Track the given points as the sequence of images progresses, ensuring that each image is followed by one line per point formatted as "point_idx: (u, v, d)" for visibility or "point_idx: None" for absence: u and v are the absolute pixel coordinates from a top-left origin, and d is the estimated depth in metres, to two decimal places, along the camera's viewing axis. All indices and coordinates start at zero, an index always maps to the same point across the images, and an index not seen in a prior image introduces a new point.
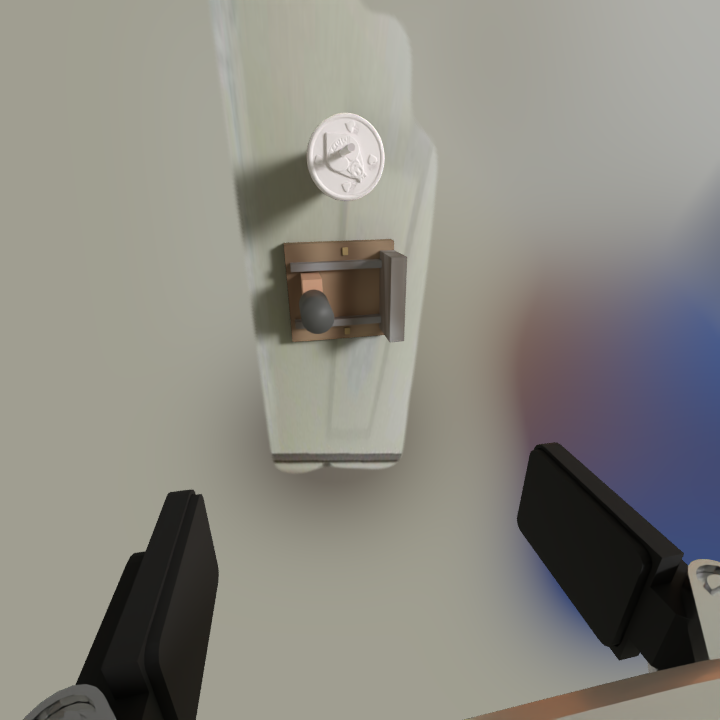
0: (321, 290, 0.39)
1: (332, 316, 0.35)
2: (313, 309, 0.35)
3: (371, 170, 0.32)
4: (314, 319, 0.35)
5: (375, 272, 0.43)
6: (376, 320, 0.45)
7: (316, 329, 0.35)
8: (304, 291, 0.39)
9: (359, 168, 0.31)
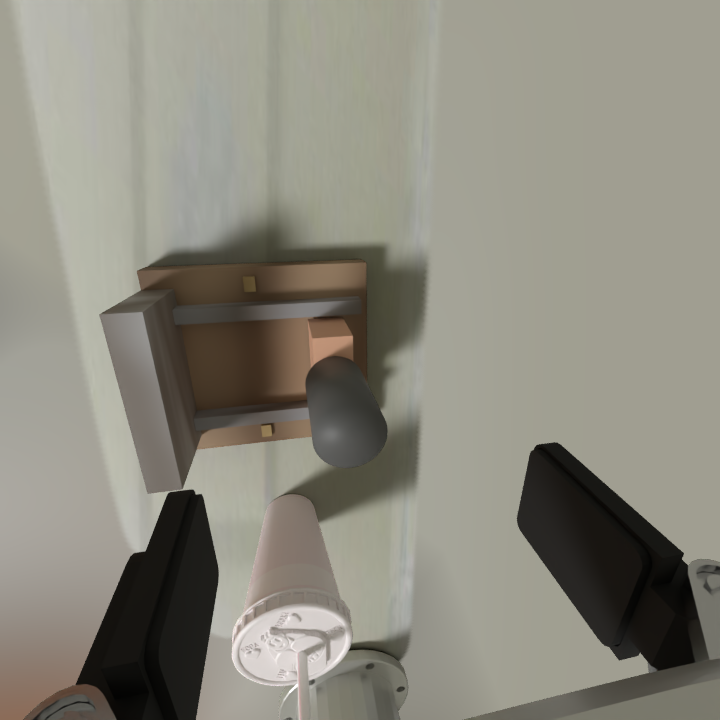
0: None
1: (316, 442, 0.15)
2: (359, 453, 0.15)
3: (252, 643, 0.19)
4: (358, 433, 0.15)
5: (203, 399, 0.23)
6: (184, 315, 0.20)
7: (355, 412, 0.15)
8: None
9: (273, 645, 0.19)
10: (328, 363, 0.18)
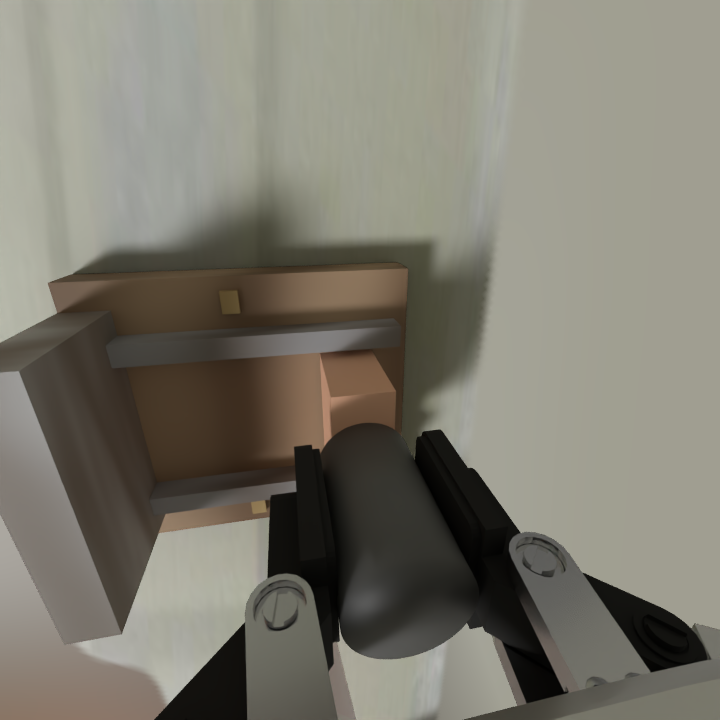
0: None
1: (348, 628, 0.08)
2: (425, 636, 0.08)
3: None
4: (426, 607, 0.08)
5: (165, 467, 0.16)
6: (126, 354, 0.13)
7: (423, 576, 0.08)
8: None
9: None
10: (357, 440, 0.11)
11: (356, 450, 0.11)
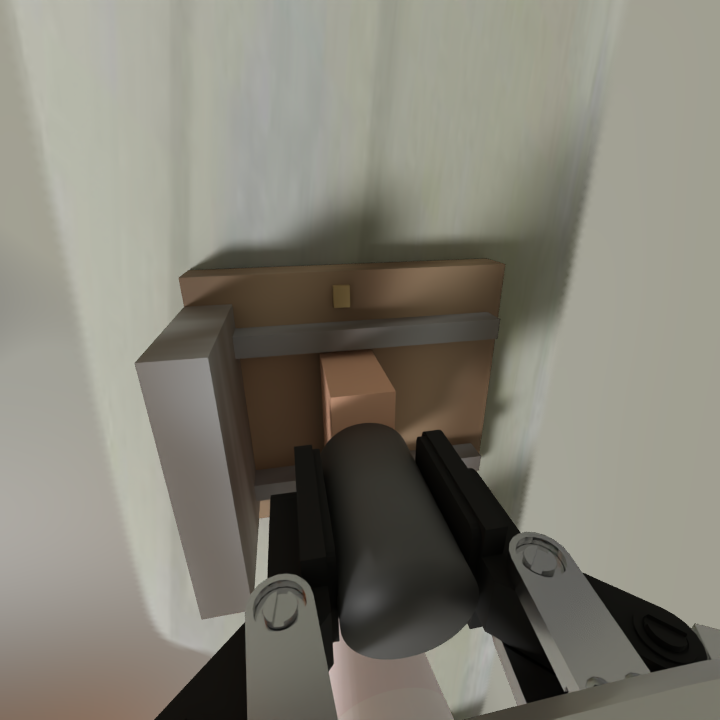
0: None
1: (348, 628, 0.08)
2: (425, 636, 0.08)
3: None
4: (426, 607, 0.08)
5: (265, 455, 0.16)
6: (250, 345, 0.13)
7: (423, 576, 0.08)
8: None
9: None
10: (357, 440, 0.11)
11: (356, 450, 0.11)
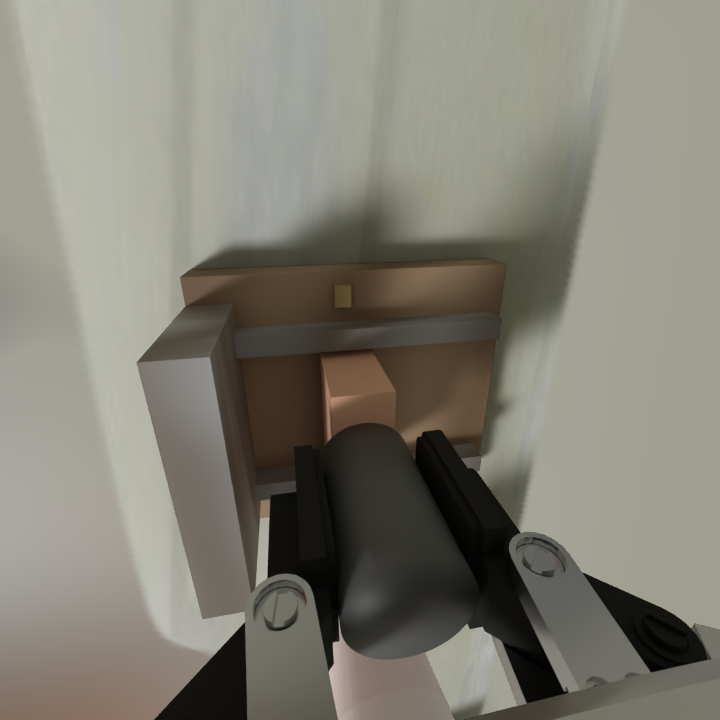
0: None
1: (348, 628, 0.08)
2: (425, 636, 0.08)
3: None
4: (426, 607, 0.08)
5: (266, 455, 0.16)
6: (251, 345, 0.13)
7: (424, 576, 0.08)
8: None
9: None
10: (357, 440, 0.11)
11: (356, 450, 0.11)
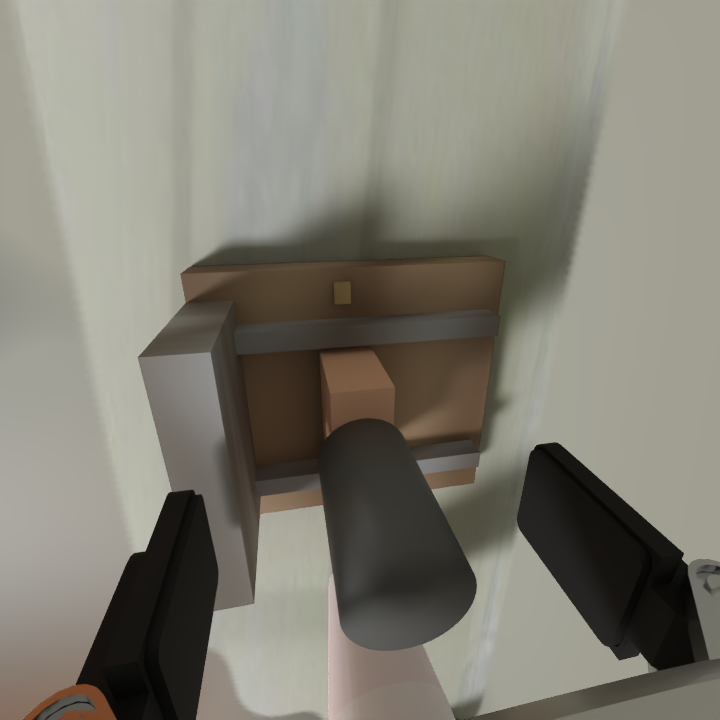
0: None
1: (347, 619, 0.08)
2: (423, 628, 0.08)
3: None
4: (424, 599, 0.08)
5: (266, 451, 0.16)
6: (251, 341, 0.13)
7: (422, 568, 0.08)
8: None
9: None
10: (356, 435, 0.11)
11: (355, 445, 0.11)
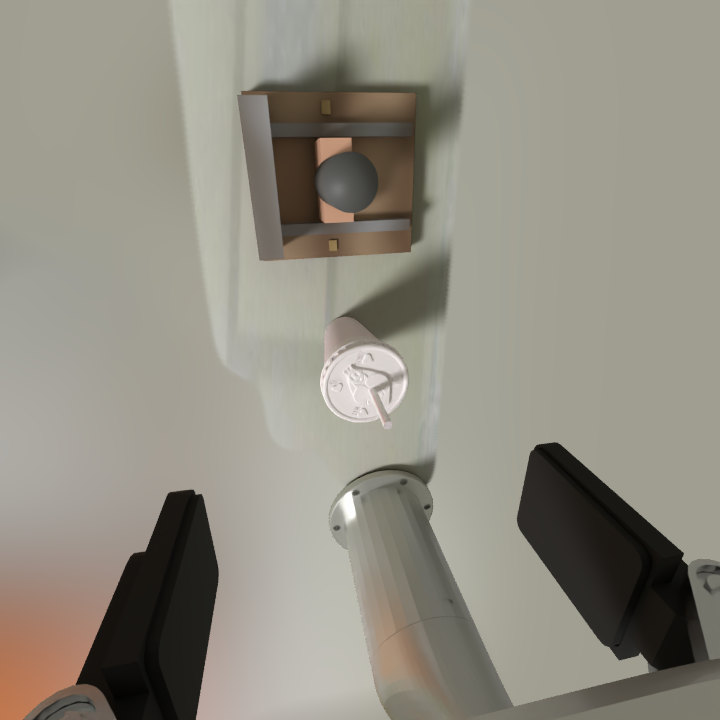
0: (325, 204, 0.25)
1: (326, 185, 0.20)
2: (358, 200, 0.21)
3: (337, 377, 0.26)
4: (357, 181, 0.21)
5: (285, 213, 0.29)
6: (278, 128, 0.26)
7: (354, 161, 0.20)
8: None
9: (353, 379, 0.26)
10: None
11: None
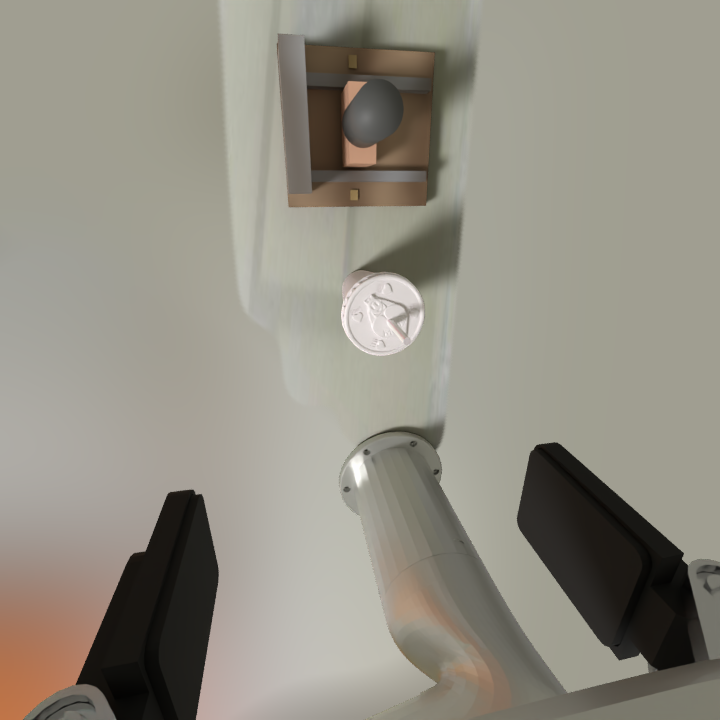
0: (351, 145, 0.28)
1: (357, 110, 0.22)
2: (384, 126, 0.23)
3: (358, 306, 0.28)
4: (384, 108, 0.23)
5: (311, 161, 0.31)
6: (309, 78, 0.28)
7: (382, 88, 0.22)
8: (374, 145, 0.28)
9: (372, 308, 0.28)
10: None
11: None
